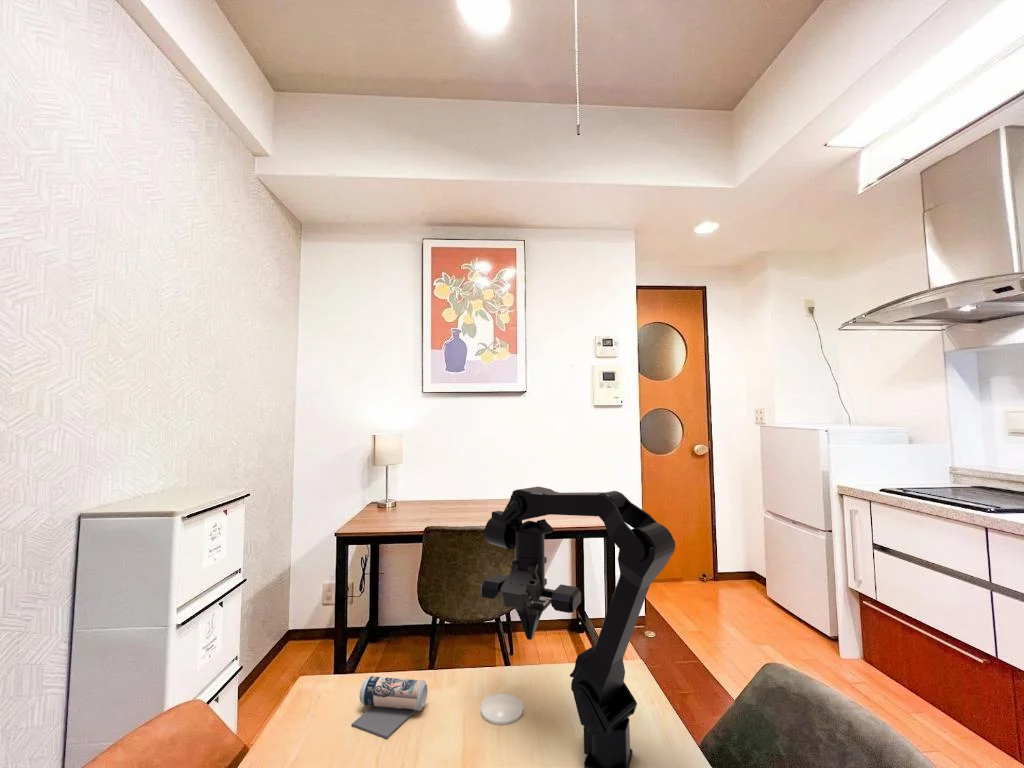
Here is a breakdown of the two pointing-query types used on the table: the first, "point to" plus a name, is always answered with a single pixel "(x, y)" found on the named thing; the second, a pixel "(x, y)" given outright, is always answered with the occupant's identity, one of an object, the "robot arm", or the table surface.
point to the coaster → (501, 709)
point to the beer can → (393, 693)
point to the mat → (383, 720)
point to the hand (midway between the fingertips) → (530, 638)
